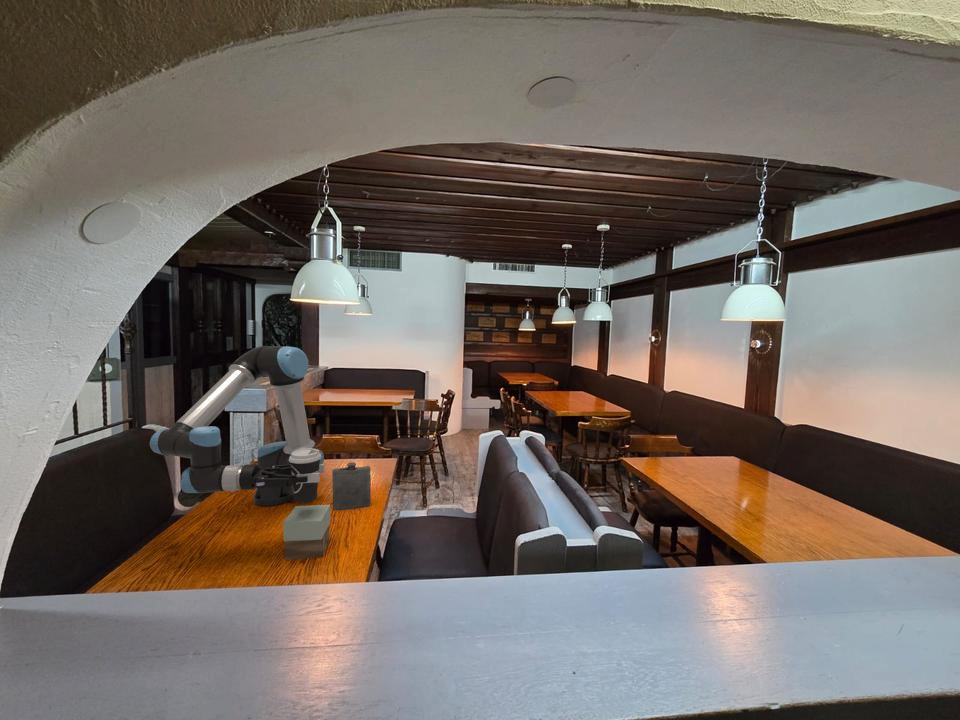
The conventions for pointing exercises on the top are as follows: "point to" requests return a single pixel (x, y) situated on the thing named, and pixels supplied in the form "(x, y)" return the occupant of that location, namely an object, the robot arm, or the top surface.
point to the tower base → (306, 548)
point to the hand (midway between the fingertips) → (321, 472)
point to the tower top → (307, 523)
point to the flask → (351, 487)
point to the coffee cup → (305, 464)
